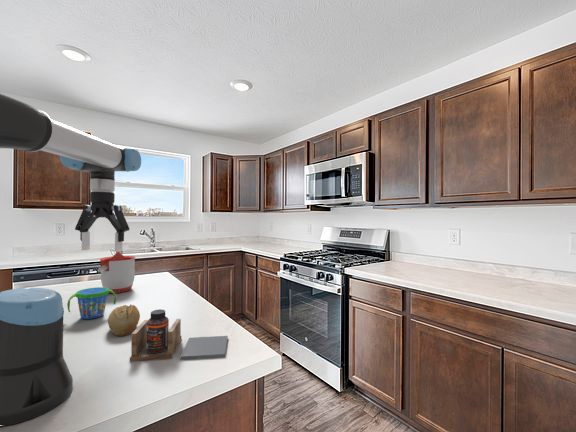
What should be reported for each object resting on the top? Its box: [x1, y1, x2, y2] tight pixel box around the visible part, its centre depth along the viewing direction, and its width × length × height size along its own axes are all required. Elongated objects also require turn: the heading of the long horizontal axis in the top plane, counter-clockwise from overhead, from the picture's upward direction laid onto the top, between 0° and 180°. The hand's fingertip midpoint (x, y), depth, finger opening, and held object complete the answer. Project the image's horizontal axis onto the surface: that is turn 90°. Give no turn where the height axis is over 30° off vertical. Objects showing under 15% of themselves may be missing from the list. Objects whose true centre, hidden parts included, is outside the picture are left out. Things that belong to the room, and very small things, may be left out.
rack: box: [129, 318, 182, 362], centre depth 85 cm, size 12×11×7 cm
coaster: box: [179, 335, 228, 360], centre depth 86 cm, size 12×12×1 cm
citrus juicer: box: [97, 251, 136, 295], centre depth 146 cm, size 16×17×20 cm
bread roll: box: [107, 304, 141, 337], centre depth 99 cm, size 10×15×8 cm, turn 33°
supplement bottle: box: [145, 309, 170, 354], centre depth 85 cm, size 6×6×11 cm
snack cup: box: [66, 286, 117, 320], centre depth 111 cm, size 16×10×10 cm
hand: (101, 250), depth 103 cm, fingers open, 13 cm apart
